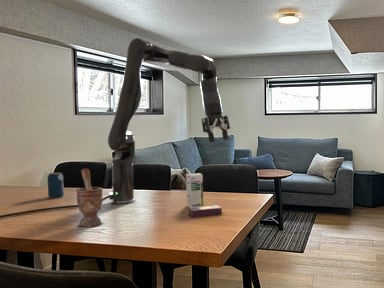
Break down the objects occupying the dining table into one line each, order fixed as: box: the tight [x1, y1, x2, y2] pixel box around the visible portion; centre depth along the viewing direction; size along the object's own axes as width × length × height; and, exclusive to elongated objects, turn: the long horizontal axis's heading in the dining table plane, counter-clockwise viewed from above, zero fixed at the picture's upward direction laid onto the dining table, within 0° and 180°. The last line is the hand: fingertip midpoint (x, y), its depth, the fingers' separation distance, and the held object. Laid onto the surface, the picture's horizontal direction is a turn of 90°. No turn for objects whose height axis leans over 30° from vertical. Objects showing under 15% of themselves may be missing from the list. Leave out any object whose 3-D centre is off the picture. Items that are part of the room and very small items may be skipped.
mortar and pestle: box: [76, 167, 103, 228], centre depth 140 cm, size 12×9×20 cm
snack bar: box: [188, 205, 222, 218], centre depth 154 cm, size 12×5×3 cm, turn 115°
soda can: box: [47, 171, 65, 199], centre depth 192 cm, size 7×7×12 cm
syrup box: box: [185, 172, 204, 209], centre depth 167 cm, size 6×6×14 cm
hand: (219, 140), depth 164 cm, fingers open, 8 cm apart
